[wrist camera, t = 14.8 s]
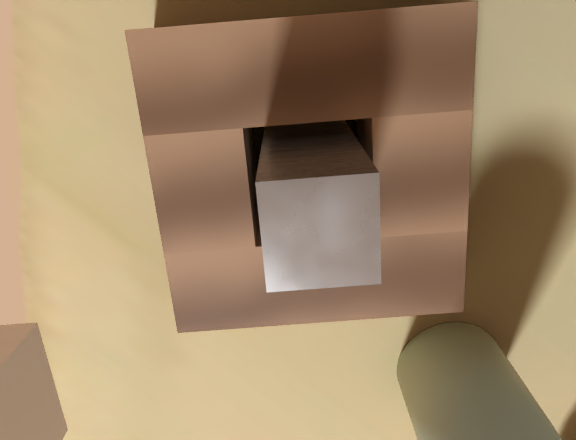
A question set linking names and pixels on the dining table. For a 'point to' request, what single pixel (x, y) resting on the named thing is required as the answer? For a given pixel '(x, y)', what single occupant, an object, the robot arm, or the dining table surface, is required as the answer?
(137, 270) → the dining table surface
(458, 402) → the round peg
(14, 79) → the dining table surface
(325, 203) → the square peg
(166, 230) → the socket block
